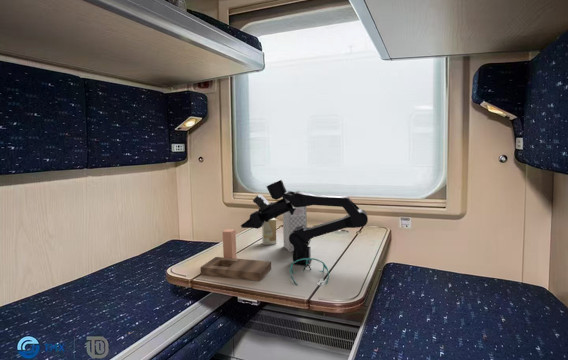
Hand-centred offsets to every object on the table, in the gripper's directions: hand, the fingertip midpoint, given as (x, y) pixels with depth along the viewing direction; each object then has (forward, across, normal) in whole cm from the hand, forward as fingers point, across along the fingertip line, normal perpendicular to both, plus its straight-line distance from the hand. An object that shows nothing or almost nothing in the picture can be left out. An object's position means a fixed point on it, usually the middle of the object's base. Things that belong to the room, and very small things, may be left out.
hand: (244, 223), depth 144 cm
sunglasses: (-19, +15, +27) cm, 36 cm away
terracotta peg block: (+12, +2, +11) cm, 17 cm away
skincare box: (+3, -24, +16) cm, 29 cm away
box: (-9, -19, +22) cm, 30 cm away
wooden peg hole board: (+6, +14, +14) cm, 21 cm away
